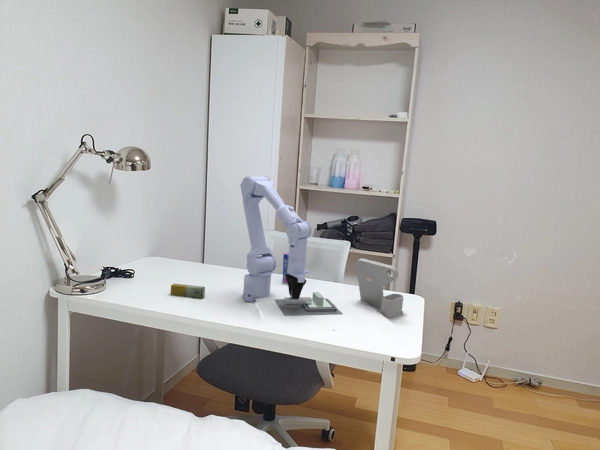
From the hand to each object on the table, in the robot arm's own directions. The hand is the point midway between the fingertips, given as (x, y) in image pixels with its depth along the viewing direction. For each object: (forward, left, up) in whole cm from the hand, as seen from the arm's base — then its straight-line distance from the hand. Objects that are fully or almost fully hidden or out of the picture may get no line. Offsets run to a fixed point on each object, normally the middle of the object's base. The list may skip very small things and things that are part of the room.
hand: (294, 297), depth 156 cm
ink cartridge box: (+9, +35, -5) cm, 37 cm away
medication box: (-34, +17, -5) cm, 39 cm away
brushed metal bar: (+1, 0, -2) cm, 2 cm away
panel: (+5, 0, -5) cm, 7 cm away
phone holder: (+31, 0, -5) cm, 31 cm away
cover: (+8, 0, -3) cm, 9 cm away
